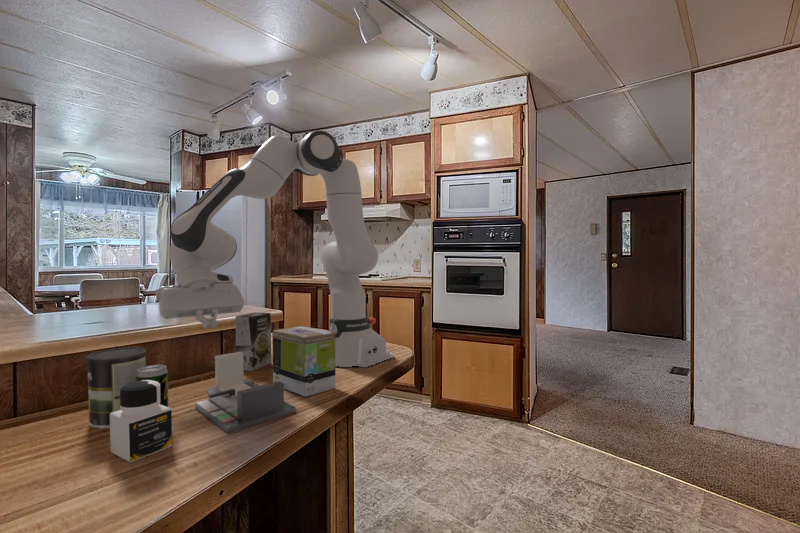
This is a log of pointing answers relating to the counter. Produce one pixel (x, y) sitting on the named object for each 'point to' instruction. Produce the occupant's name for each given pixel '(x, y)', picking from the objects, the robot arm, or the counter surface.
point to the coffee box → (254, 339)
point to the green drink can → (156, 379)
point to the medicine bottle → (140, 422)
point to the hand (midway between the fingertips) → (210, 326)
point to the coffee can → (110, 380)
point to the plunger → (229, 375)
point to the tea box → (304, 359)
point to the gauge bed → (246, 406)
